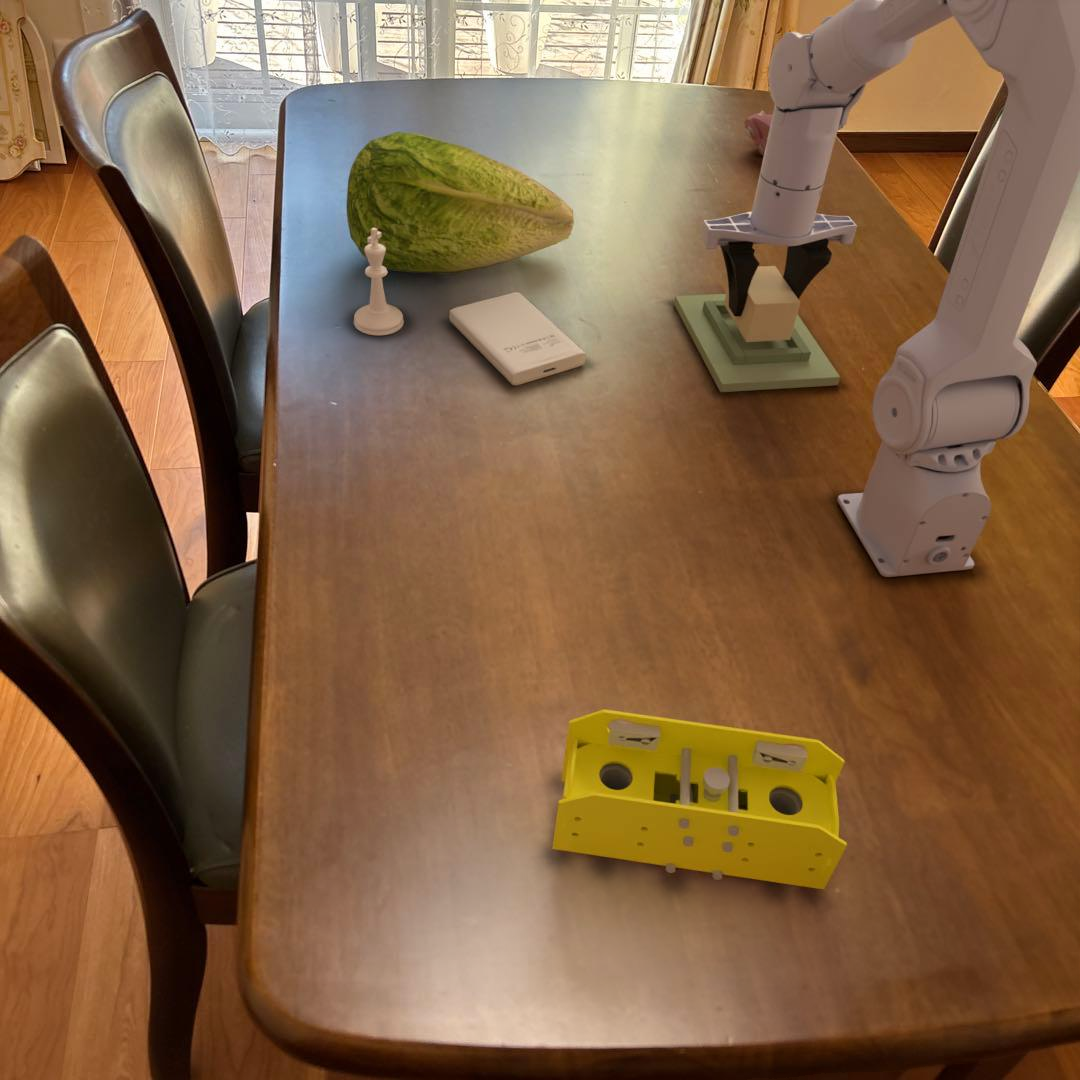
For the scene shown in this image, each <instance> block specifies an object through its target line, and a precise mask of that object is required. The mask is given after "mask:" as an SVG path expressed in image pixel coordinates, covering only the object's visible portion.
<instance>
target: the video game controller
mask: <svg viewBox="0 0 1080 1080" xmlns="http://www.w3.org/2000/svg"><path fill="white" fill-rule="evenodd" d="M772 116H773V114H770V113H769V114H768V113H767V114H766V112H765V111H764V110H761V111H760V112H759V113H754V114H752V115H751V116H749V117H748V118H746V119H745V120H744V128H745V136H747V137H748V138H750V139H751V141H753V143H754V145H755V147H756V149H757V150H758V152H759V154H760V155H761V156H762V157H764V153H765V148H766V144H767V139H768V135H769V130H770V125H771V121H772Z"/></svg>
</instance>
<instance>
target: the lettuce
mask: <svg viewBox="0 0 1080 1080" xmlns="http://www.w3.org/2000/svg"><path fill="white" fill-rule="evenodd" d="M347 179H348V180H347V190H346V218H347V224H348V225H347V226H348V230H349V236H350V239H351V240H352V242H353V243H354V245H355V246H356V247H357V249H358V250H359V252H360V253H361V255H362V256H363V257H365V258H367V256H366V254H365V251H364V248H365V247H366V246H367V245H368V244H371V243H368V242H367V238H368V237H370V236H371V229H372V228H373V227H374V228H377V231H379V232H381V233H382V237H380V238H379V239H378V243H379V244H382V245H383V246H384V247H385V248H386V252H385V255H384V258H383V262H382V266H384V267H385V268H386V269H388V270H390V271H396V272H405V273H415V274H416V273H417V274H439V275H440V274H441V275H454V274H461V273H465V272H470V271H475V270H480V269H485V268H488V267H492V266H495V265H498V264H502V263H506V262H509V261H511V260H515V259H517V258H521V257H524V256H528V255H530V254H533V253H535V252H538V251H541V250H543V249H546V248H550V247H551V246H554V245H556V244H559V243H562V242H563V241H565V240H567V239H569V238H570V236H571V234H572V232H573V227H574V224H575V217H574V209H573V208H572V207H571V206H570V205H568V203H567V202H566V201H565V200H564V199H563V198H561V197H560V196H559V195H558V194H557V193H555V192H554V191H552V190H551V189H549V188H548V187H546V186H544V185H543V184H541V183H540V182H538V181H537V180H536V179H534V178H532V177H530V176H529V175H527V174H526V173H525V172H522V171H521V170H519V169H517V168H514V167H513V166H509V165H507V164H505V163H502V162H500V161H498V160H495V159H492V158H491V157H489V156H486V155H484V154H481V153H479V152H477V151H475V150H472V149H470V148H468V147H465V146H463V145H459V144H455V143H452V142H448V141H444V140H441V139H437V138H433V137H430V136H427V135H424V134H420V133H412V132H403V131H397V132H394V133H390V134H387V135H384V136H381V137H377V138H374V139H371V140H369V141H368V143H366V144H365V146H364V147H362V149H361V150H360V151H358V152H357V154H356V157H355V159H354V161H353V163H352V165H351V167H350V171H349V175H348V178H347Z"/></svg>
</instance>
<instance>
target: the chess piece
mask: <svg viewBox="0 0 1080 1080" xmlns="http://www.w3.org/2000/svg"><path fill="white" fill-rule="evenodd" d="M380 237H382V233H381V232H379V231H377V228H374V227H373V228H372V229H371V236H370V237H368V238H367V242H368V243H371V244H368V245H367V246H366V247H365V248H364V251H365V254H366V256H367V257H366V259H367V261H368V264H369V265H368V266H366V267H365V271H364V274H365V275H366V276H367V277H369V278H371V279H370V283H371V284H370V294H369V295H370V296H369V303H368V304H366V305H364V306H361V307H360V308H358V309H357V310H356V311H355V313H354V316H353V317H354V318H353V325H354V327H355V329H357V331H359V332H361V333H363V334H366V335H370V336H387V335H391V334H394V333H396V332H398V331H399V330H401V329H402V328H403V326H404V323H405V320H404V315H403V312H402V311H401V310H400V309H399V308H397V307H396V306H394V305H391V304H388V303H387V301H386V296H385V290H384V285H383V284H384V283H383V278H384V277H386V276H387V275H388V270H387V269H388V268H386V267H384V266H382V262H383V258H384V255H385V252H386V248H385V247H384V246H383V245H382V244H379V243H378V239H379V238H380Z"/></svg>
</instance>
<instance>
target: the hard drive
mask: <svg viewBox="0 0 1080 1080" xmlns="http://www.w3.org/2000/svg"><path fill="white" fill-rule="evenodd" d="M448 314H449V315H448V317H449V319H448V320H449V322H450V323H451V324H452V325H453V326H454V327H455V328H456V329H457V330H458V331H459V332H460V334H462V335H463V336H464V337H465V339H467V340H468V342H470V344H472V346H473V347H475V349H476V350H477V351H479V352H480V354H481V355H482V356H483V357H484V358H485V359H486V360H487V361H488V362H489V363H490V364H491V365H492V366H493V367H494V368H495V369H496V370H497V371H498V372H499V373H500V374H501V375H502V376H503V377H504V378H505V379H506V380H507V381H508V383H510V385H512V386H520V385H523V384H526V383H527V384H528V383H530V382H532V381H533V382H534V381H537V380H539V379H543V378H545V377H549V376H554V375H556V374H559V373H562V372H565V371H569V370H572V369H576V368H578V367H581V366H582V365H584V364H585V362H586V352H585V351H584V350H583V349H581V348H580V347H579V346H578V345H577V344H576V343H575V342H574V341H573V340H572V339H571V338H570V337H568V336H567V335H566V334H565V333H564V332H563V331H562V330H560V328H558V327H557V326H556V325H555V324H554V323H553V322H552V321H551V320H550V319H549V318H548V317H546V315H544V314H543V313H542V312H541V310H539V309H538V308H537V307H535V306H534V305H533V304H532V303H531V302H530V301H529V300H528V299H527V298H526V297H525V296H523V295H522V293H520V292H517V291H516V292H515V291H514V292H511V293H507V294H503V295H499V296H495V297H492V298H487V299H484V300H483V299H482V300H480V301H476V302H472V303H468V304H464V305H460V306H456V307H454V308H452V309H450V310H449V313H448Z"/></svg>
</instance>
